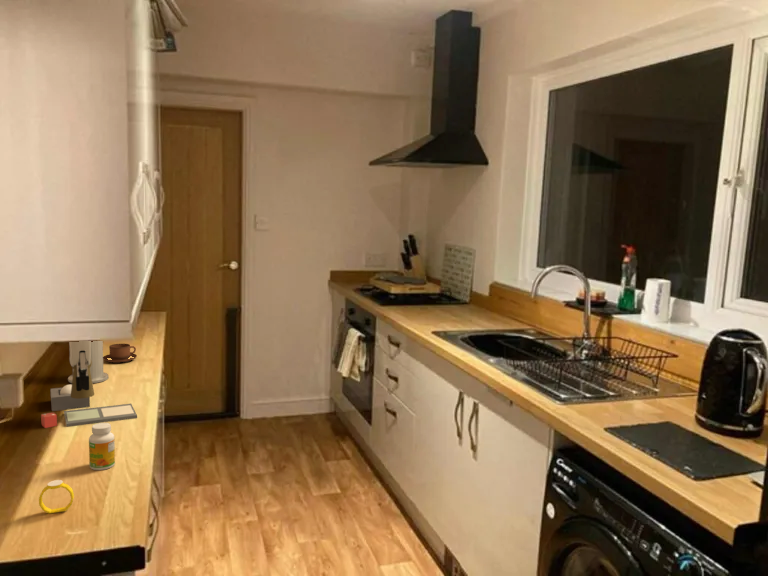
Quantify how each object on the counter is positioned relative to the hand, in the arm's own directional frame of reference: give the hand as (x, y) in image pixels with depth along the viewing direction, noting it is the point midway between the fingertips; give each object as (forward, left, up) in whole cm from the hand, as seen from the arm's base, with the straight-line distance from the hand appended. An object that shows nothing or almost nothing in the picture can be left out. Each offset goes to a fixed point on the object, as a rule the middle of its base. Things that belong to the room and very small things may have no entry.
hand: (82, 387), depth 179 cm
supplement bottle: (+38, +2, -9) cm, 39 cm away
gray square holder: (-15, -2, -9) cm, 18 cm away
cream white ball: (-15, -2, -8) cm, 17 cm away
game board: (0, +5, -9) cm, 10 cm away
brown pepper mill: (0, 0, -2) cm, 2 cm away
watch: (+58, -8, -9) cm, 59 cm away
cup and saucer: (-67, +17, -9) cm, 69 cm away
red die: (+3, -8, -9) cm, 13 cm away
